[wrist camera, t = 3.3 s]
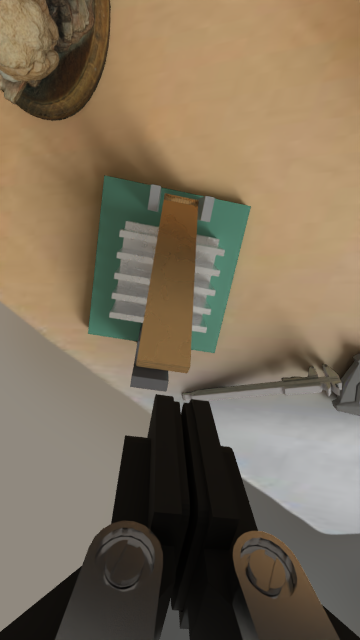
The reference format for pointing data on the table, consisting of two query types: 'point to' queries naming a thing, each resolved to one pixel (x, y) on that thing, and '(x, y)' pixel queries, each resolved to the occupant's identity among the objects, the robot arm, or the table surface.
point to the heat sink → (139, 268)
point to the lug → (148, 375)
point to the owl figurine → (52, 53)
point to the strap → (171, 289)
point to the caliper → (274, 387)
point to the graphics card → (350, 390)
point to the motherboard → (146, 208)
